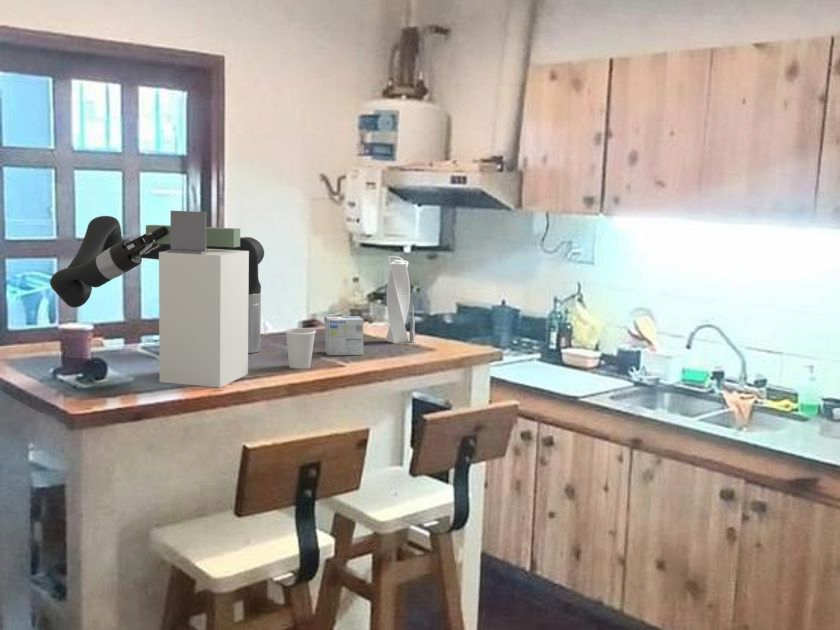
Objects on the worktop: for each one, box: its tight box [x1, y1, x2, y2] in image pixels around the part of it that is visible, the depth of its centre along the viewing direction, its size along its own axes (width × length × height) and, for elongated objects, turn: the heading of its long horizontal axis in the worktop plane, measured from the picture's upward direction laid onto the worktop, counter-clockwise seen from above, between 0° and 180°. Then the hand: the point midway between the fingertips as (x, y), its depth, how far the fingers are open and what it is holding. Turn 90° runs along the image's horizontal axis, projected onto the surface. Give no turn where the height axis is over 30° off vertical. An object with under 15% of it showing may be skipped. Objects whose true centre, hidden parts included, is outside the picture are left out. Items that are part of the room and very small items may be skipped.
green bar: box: [145, 224, 241, 247], centre depth 241 cm, size 4×24×4 cm, turn 77°
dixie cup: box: [284, 327, 317, 370], centre depth 257 cm, size 8×8×10 cm
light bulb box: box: [324, 315, 364, 356], centre depth 280 cm, size 11×7×11 cm, turn 105°
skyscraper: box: [385, 255, 416, 346], centre depth 301 cm, size 8×8×28 cm
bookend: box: [167, 210, 207, 254], centre depth 228 cm, size 3×9×10 cm, turn 77°
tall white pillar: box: [158, 249, 249, 388], centre depth 237 cm, size 17×16×32 cm
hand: (170, 229), depth 242 cm, fingers closed on green bar, 4 cm apart
